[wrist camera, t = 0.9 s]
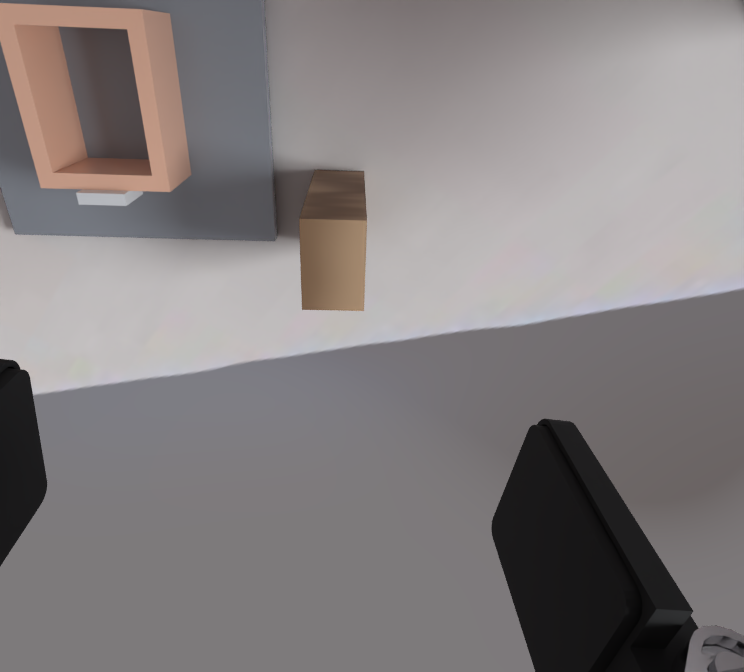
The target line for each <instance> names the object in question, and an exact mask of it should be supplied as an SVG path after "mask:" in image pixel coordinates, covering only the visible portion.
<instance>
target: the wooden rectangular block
mask: <svg viewBox="0 0 744 672" xmlns="http://www.w3.org/2000/svg"><path fill="white" fill-rule="evenodd" d="M299 229H300V259H301V289H302V310H348V311H364V292H365V262H366V231H367V215H366V198H365V182H364V171H334V170H315V171H314V174H313V177H312V180H311V183H310V186H309V190H308V193H307V196H306V199H305V202H304V205H303V208H302V211H301V215H300V218H299Z"/></svg>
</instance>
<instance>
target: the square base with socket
mask: <svg viewBox="0 0 744 672" xmlns="http://www.w3.org/2000/svg"><path fill="white" fill-rule="evenodd" d="M0 188H1V191H2V194H3V197H4V200H5V203H6V207H7V210H8V213H9V216H10V219H11V222H12V226H13V229H14V232H15V234H23V235H61V236H99V237H137V238H174V239H212V240H250V241H275V240H276V238H277V222H276V204H275V186H274V168H273V150H272V132H271V114H270V96H269V78H268V60H267V42H266V24H265V6H264V0H0Z"/></svg>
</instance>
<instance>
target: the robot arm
mask: <svg viewBox="0 0 744 672" xmlns="http://www.w3.org/2000/svg"><path fill="white" fill-rule="evenodd" d="M46 490H47V479H46V473H45V466H44V460H43V455H42V449H41V443H40V436H39V430H38V424H37V418H36V412H35V406H34V401H33V394H32V388H31V382H30V377H29V374H28V372H27V371H25V370H20V367H19V365H18V364H17V362H15V361H13V360H5V359H0V566H1V564H2V563H3V561H4V560H5V558H6V557H7V555H8V554H9V552H10V550H11V549H12V547H13V546H14V545H15V543H16V541H17V540H18V538H19V537H20V535H21V534H22V532H23V531H24V529H25V528H26V526H27V525H28V523H29V522H30V520H31V519H32V517H33V516H34V514H35V512H36V511H37V509H38V508H39V506H40V505H41V503H42V501H43V499H44V497H45V494H46ZM492 536H493V540H494V542H495V546H496V549H497V552H498V555H499V559H500V562H501V565H502V568H503V571H504V574H505V577H506V581H507V584H508V586H509V590H510V593H511V596H512V599H513V603H514V605H515V609H516V612H517V615H518V618H519V621H520V624H521V628H522V631H523V634H524V637H525V640H526V643H527V647H528V650H529V653H530V656H531V659H532V662H533V665H534V669H535V672H744V636H743V635H741V634H739V633H737V632H735V631H733V630H731V629H727V628H724V627H720V626H716V625H715V626H702V627H701V628H698V627H697V625H696V623H695V622H694V620H693V619H692V617H691V614H692V612H693V610H692V608H691V607H690V605H689V604H688V602H687V601H686V599H685V597H684V596H683V594H682V593H681V591H680V590H679V588H678V586H677V585H676V583H675V582H674V580H673V578H672V577H671V575H670V574H669V572H668V571H667V569H666V567H665V566H664V564H663V563H662V561H661V559H660V558H659V556H658V555H657V553H656V552H655V550H654V549H653V547H652V545H651V544H650V542H649V541H648V539H647V537H646V536H645V534H644V533H643V531H642V529H641V528H640V526H639V525H638V523H637V522H636V520H635V518H634V517H633V516H632V514H631V512H630V511H629V509H628V507H627V506H626V504H625V503H624V501H623V500H622V498H621V496H620V495H619V493H618V492H617V490H616V489H615V487H614V485H613V484H612V482H611V481H610V479H609V478H608V476H607V474H606V473H605V471H604V470H603V468H602V466H601V465H600V463H599V462H598V460H597V459H596V457H595V455H594V454H593V452H592V451H591V449H590V448H589V446H588V445H587V443H586V441H585V440H584V438H583V436H582V435H581V433H580V432H579V430H578V429H577V427H576V426H575V425H574V423H572V422H570V421H561V420H551V419H542V420H541V421H540V422H539V423H538V424H537V425H532V426H531V427H530V428H529V430H528V433H527V435H526V437H525V440H524V443H523V445H522V447H521V450H520V452H519V455H518V457H517V460H516V462H515V465H514V467H513V470H512V472H511V475H510V477H509V480H508V482H507V485H506V487H505V490H504V492H503V495H502V497H501V500H500V502H499V505H498V507H497V510H496V512H495V515H494V517H493V520H492Z"/></svg>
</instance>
